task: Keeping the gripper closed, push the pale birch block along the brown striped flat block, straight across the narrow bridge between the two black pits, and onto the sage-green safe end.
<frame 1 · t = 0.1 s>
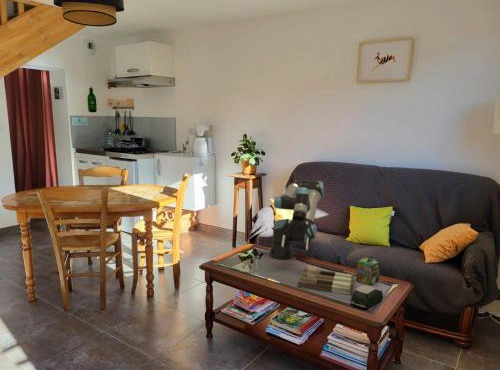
hand: (294, 248, 211), 15 cm above the table, tool tilted 35°, fingers open, 13 cm apart
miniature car: (366, 302, 182), on the table
brown striped flat block: (326, 283, 203), on the table
birch block: (311, 276, 205), point 3 cm above the table, touching brown striped flat block
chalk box: (367, 281, 208), on the table
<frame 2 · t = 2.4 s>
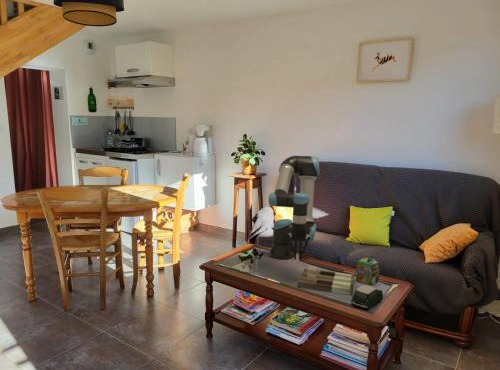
hand: (297, 265, 206), 8 cm above the table, tool pointing down, fingers closed
nothing on the table moved.
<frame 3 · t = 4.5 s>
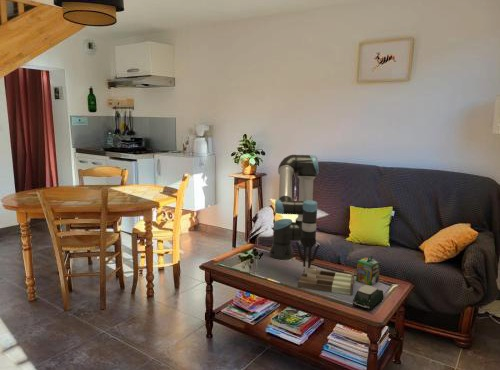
hand: (306, 272, 205), 5 cm above the table, tool pointing down, fingers closed
birch block: (312, 276, 205), point 3 cm above the table, touching gripper
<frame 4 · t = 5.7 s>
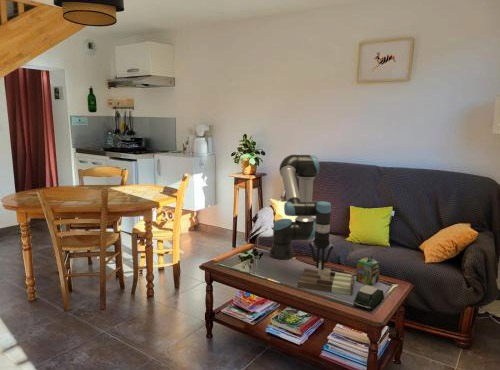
hand: (319, 274, 203), 5 cm above the table, tool pointing down, fingers closed
birch block: (325, 278, 202), point 3 cm above the table, touching gripper
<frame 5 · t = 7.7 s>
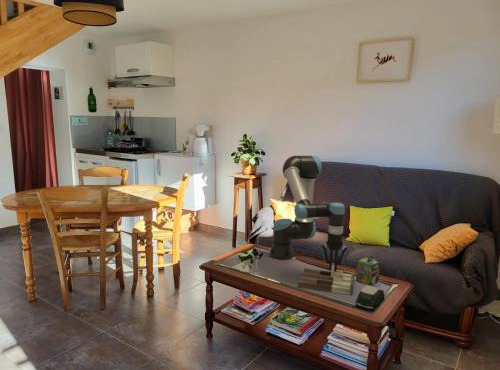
hand: (332, 276, 201), 5 cm above the table, tool pointing down, fingers closed
birch block: (337, 279, 200), point 3 cm above the table, touching gripper, brown striped flat block
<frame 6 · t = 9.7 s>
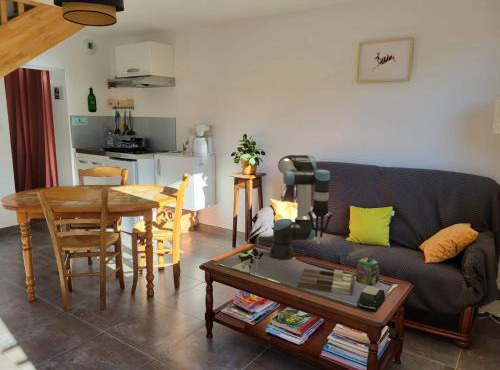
hand: (318, 243, 203), 21 cm above the table, tool pointing down, fingers closed
birch block: (338, 279, 200), point 3 cm above the table, touching brown striped flat block
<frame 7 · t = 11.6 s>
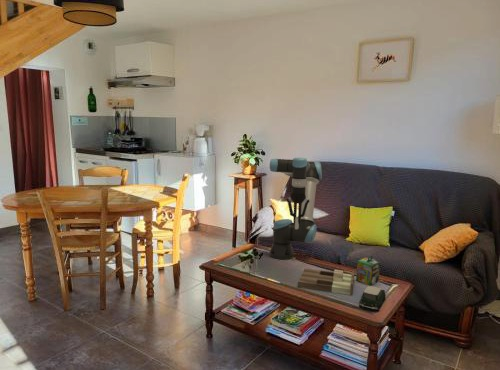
hand: (296, 228, 210), 26 cm above the table, tool pointing down, fingers closed
at the end: birch block inside the target area on the brown striped flat block (2.6 cm from its centre), point 3.0 cm above the brown striped flat block's base; birch block tilted 0° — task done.
